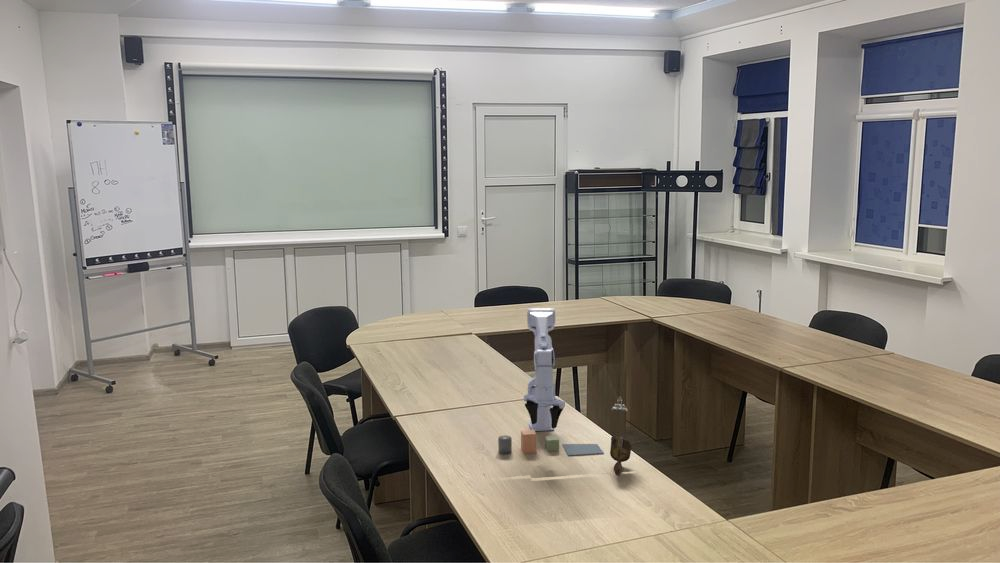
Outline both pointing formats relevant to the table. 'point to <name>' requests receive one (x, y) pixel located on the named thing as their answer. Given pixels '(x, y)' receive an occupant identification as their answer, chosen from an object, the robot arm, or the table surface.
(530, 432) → the terracotta block
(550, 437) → the olive cube
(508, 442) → the dark grey cylinder
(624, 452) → the brown piece
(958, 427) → the table surface
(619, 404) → the house of cards
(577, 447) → the slate mat
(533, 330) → the robot arm
